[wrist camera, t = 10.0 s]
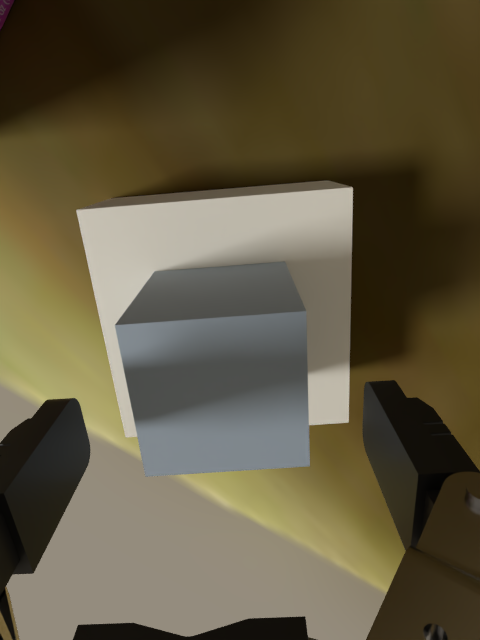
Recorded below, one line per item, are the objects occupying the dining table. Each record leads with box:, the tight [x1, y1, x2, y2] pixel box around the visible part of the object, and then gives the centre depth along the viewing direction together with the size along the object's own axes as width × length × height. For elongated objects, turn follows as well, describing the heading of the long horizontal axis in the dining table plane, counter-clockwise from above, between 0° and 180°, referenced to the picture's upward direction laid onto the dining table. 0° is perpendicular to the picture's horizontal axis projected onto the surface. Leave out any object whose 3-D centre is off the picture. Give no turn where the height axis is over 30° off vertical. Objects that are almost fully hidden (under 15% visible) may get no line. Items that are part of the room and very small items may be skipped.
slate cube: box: [115, 261, 310, 476], centre depth 16 cm, size 6×6×6 cm
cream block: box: [76, 180, 353, 437], centre depth 21 cm, size 11×11×5 cm
